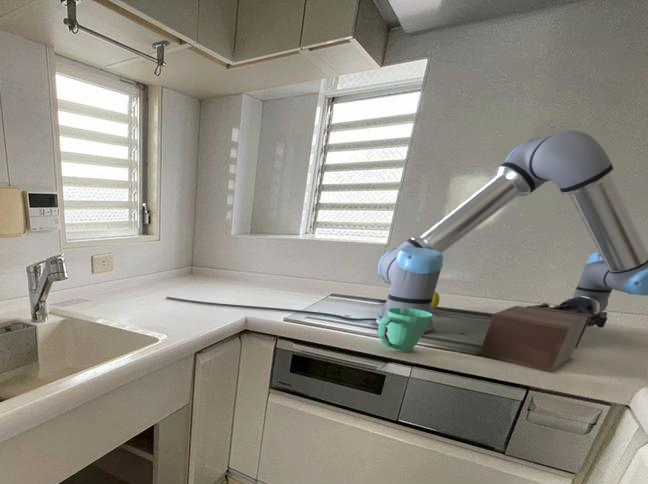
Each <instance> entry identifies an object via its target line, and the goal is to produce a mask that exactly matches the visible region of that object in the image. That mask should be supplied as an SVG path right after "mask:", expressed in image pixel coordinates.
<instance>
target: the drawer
mask: <svg viewBox="0 0 648 484" xmlns="http://www.w3.org/2000/svg"><path fill="white" fill-rule="evenodd" d="M533 306H534V305H526V307H528V308H534V309H541V310H548V311H555V312H561V313H568V314H575V315H581V316H588V318H587V321H586V323H585V325H584V328H583V330H582V332H581V335H580V337H579V339H578V341H577V344H576V346H575V348H574V350H577V349H579V346H580V344H581V341H582V339H583V337H584V334H585V333H586V330H587V327H588V326H587V325H588V323H589V321H590V319H591V316H592V315H588V314H581V313H574V312H568V311H561V310H554V309H547V308H540V307H533Z"/></svg>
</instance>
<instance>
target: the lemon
mask: <svg viewBox="0 0 648 484" xmlns="http://www.w3.org/2000/svg"><path fill="white" fill-rule="evenodd" d="M439 303H440V293H439V292H437V291H436V290H435V292H434V296H433V299H432V303H431V311H432V310H435V309H436V308H438V306H439Z"/></svg>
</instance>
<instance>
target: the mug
mask: <svg viewBox="0 0 648 484" xmlns="http://www.w3.org/2000/svg"><path fill="white" fill-rule="evenodd" d="M432 316H433V317H434V314H433V315H432V314H431V313H429V312H426V311H423V310H417V309H410V308H405V309H404V310H403V312H402V313H401V312H400V308H392V309H389V310H388V317H384V318H382V319H381V321H380V322H379V325H378V326H377V331H376V333H377V335H378V337H379V339H380V341H381V343H382V344H383V345H385V346H387V347H389V348H390V349H391V350H393V351H395V352H400V353H410V352H412V351H413V349H414V348H415V347H416V345H417V344H418V343H419V341H420V339H421V338H422V337H423V335H424V334H425V333H424V332H425V330H426V328H427V326H428V324H429V322H430V320H431V319H432V320H433V318H432ZM387 325H388V330H387Z"/></svg>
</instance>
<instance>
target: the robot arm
mask: <svg viewBox="0 0 648 484" xmlns="http://www.w3.org/2000/svg"><path fill="white" fill-rule="evenodd" d="M614 170H615V168H614V166H613V164H612V162H611V160H610V157H609V156H608V154H607V152H606V151H605V150H604V148H603V146H602V145H601V144H600V143H599V142H598V140H596V139H595V138H594V137H593V136H592V135H590V134H589V133H586V132H585V131H580V130H564V131H561V132H558V133H554V134H550V135H545V136H539V137H535V138H532V139H529V140H526V141H525V142H523V143H521V144H520V145H518V146H517V147H515V148H514V149H513V150H512V151H511V152H510V153H509V154H508V156H507V157H506V159H505V161H504V162H503V163H502V164H501V165H500V166H498V167H497V168H496V170H495V175H494V177H493V178H491V179H490V180H488V181H487V182H486V183H485V184H484V185H482V186H481V187H480V188H479V189H477V190H476V191H475V192H474V193H473V194H471V195H470V196H469V197H468V198H466V199H465V200H464V201H462V202H461V203H460V204H459V205H457V206H456V207H455V208H453V209H452V210H451V211H450V212H448V213H447V214H446V215H444V216H443V217H442V218H441V219H440V220H439V221H437V222H436V223H434V224H433V225H432V226H430V228H428V229H427V230H426V231H424V232H423V233H422V234H420V236H418V237H409V238H408V239H406V241H404V242H403V243H402V244H400V245H399V246H398V247H394V248H392V249H390V250H388V251H386V252H385V253H384V254H383V255H382V256H381V258H380V259H379V262H378V266H377V271H378V274H379V276H380V278H381V279H382V280H383V281H384V283H386V284H387V285H390V286H389V291H388V295H387V298H386V302H385V303H384V305H383V306H382V308H381V310H380V311H379V313H378V314H377V317H375V318H374V317H373V318H371V317H366V318H365V317H361V318H359V317H357V318H356V317H347V316H344V315H339V314H333V313H327V312H319V311H311V310H309V311H308V310H300V309H290V308H282V307H281V308H280V307H267V306H255V305H243V304H233V303H231V304H230V303H219V302H211V301H200V300H194V299H193V300H191V299H185V298H177V297H171V296H166V298H165V299H166V300H172V301H173V300H174V301H179V302H186V303H194V304H203V305H211V306H221V307H233V308H245V309H256V310H270V311H278V312H279V311H280V312H291V313H299V314H300V313H301V314H309V315H310V314H311V315H319V316H327V317H334V318H339V319H342V320H347V321H353V322H354V321H355V322H363V321H364V322H365V321H367V322H368V321H369V322H372V321H373V322H375V325H376V327H378V325H379V322H380V321H381V319H382V318H384V317H388V310H389V309H392V308H400V312H401V313H402V312H403V310H404V309H405V308H410V309H417V310H423V311H426V312H429V313H431V314H432V315H433V316H432V319H431V320H430V322H429V324H428V326H427V328H426V330H425V332H424V333H423V334H427V333H430V332H432V329H433V323H434V322H433V321H434V320H433V319H434V313H433V311H432V310H431V303H432V299H433V296H434V292H435V291H436V288H437V286H438V281H439V278H440V274H441V270H442V268H443V266H444V255H443V253H445V252H446V251H447V250H449V249H450V248H452V246H454V245H455V244H457V243H458V242H459V241H460V240H462V239H463V238H464V237H466V236H467V235H468V234H470V233H472V232H473V231H474V230H475V229H476V228H478V227H479V226H480V225H482V224H483V223H485V222H486V221H487V220H488V219H490V218H491V217H493V216H494V215H495V214H496V213H498V212H499V211H500V210H502V209H503V208H504V207H505V206H507V205H508V204H510V203H511V202H513V200H515V199H516V198H519V197H528V196H529V195H530V194H532V193H533V192H534V191H536V190H537V189H539V188H540V187H541V186H542V185H544V184H545V183H547V182H552V183H554V184H555V185H556V186H557V187H558V188H559V190H560V193H561V194H565V195H568V196H569V197H570V199H571V201H572V203H573V205H574V207H575V209H576V211H577V212H578V214H579V216H580V218H581V221H582V222H583V224H584V226H585V228H586V230H587V232H588V233H589V235H590V237H591V239H592V242H593V243H594V245H595V247H596V249H597V250H598V251H595V252H593V253H591V254H590V255H589V257H588V259H587V261H586V263H585V264H584V267H583V270H582V272H581V275H580V278H579V280H578V283H577V285H576V288H575V290H574V292H573V295H572V297H570V298H568V299H566V300H564V301H562V302H561V303H560V304H559V305H558V304H557V305H554V306H550V304H548V303H542V304H537V305H536V304H535V305H532V306H533V307H540V308H547V309H554V310H561V311H568V312H574V313H581V314H588V315H592V316H591V319H590V321H589V323H588V325H587V327H594V326H596V327H597V328H599V329H600V328H601V329H603V328H604V327H605V325H606V323H607V321H608V312H607V311H605V310H606V309H607V307H608V305H609V298H610V296H611V293H612V292H613V290H614V291H618V292H622V293H626V294H629V295H635V296H645V297H646V296H648V250H647V248H646V246H645V244H644V241H643V240H642V237H641V236H640V234H639V232H638V229H637V228H636V226H635V224H634V222H633V220H632V217H631V215H630V213H629V211H628V209H627V207H626V205H625V203H624V201H623V199H622V197H621V195H620V193H619V191H618V189H617V187H616V185H615V183H614V181H613V179H612V177H611V174H612V173H613V171H614ZM386 331H388V325H387V330H386Z"/></svg>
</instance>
